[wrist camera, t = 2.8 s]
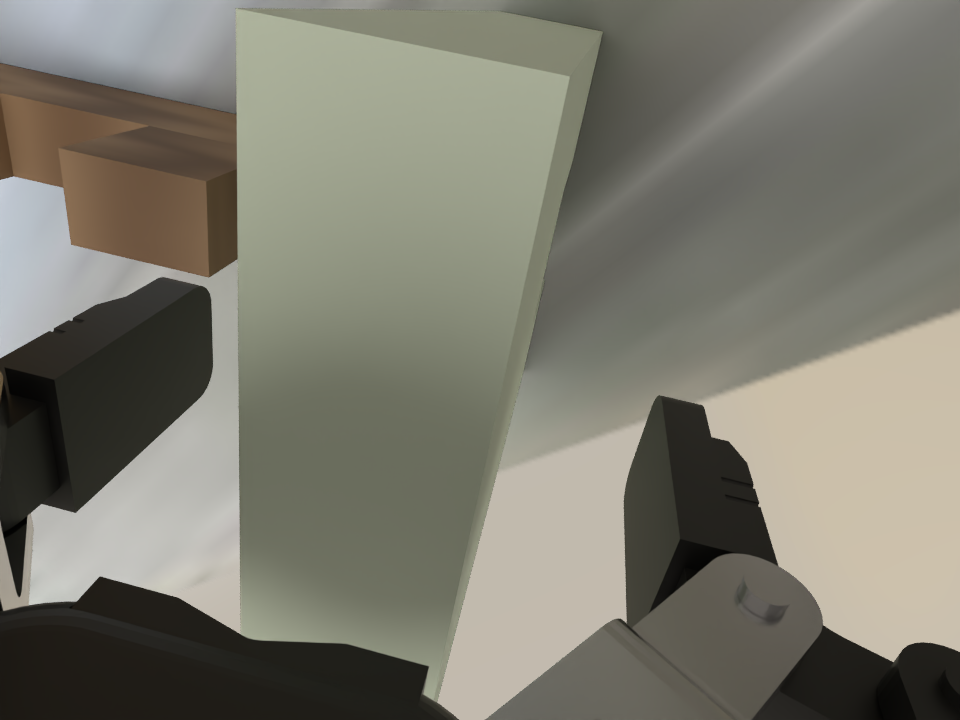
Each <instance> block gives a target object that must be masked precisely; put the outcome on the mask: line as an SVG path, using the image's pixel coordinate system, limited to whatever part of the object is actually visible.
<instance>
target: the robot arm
mask: <svg viewBox="0 0 960 720" xmlns="http://www.w3.org/2000/svg"><path fill="white" fill-rule="evenodd" d="M212 369H213V348H212V310H211V297H210V294H209V292H208V290H207V289H206V288H205V287H203V286H199V285H195V284H190V283H186V282H182V281H178V280H173V279H169V278H164V277H161V278H158V279H156V280H154V281H153V282H151V283H149V284H147V285H146V286H144V287H142V288H140V289H139V290H137V291H135V292H134V293H132V294H130V295H128V296H127V297H123V298H119V299H116V300H112V301H108V302H105V303H101V304H97V305H95V306H93V307H91V308H90V309H88V310H86V311H84V312H82V313H81V314H79V315H77V316H75V317H74V318H73V320H72V321H69V320H68V321H66V322H65V323H63V324H61V325H59V326H57V327H56V328H54V331H53V332H50V331H49V332H47V333H45V334H43V335H41V336H40V337H38V338H36V339H34V340H32V341H31V342H29V343H27V344H25V345H24V346H22V347H20V348H18V349H16V350H15V351H13V352H11V353H9V354H7V355H6V356H4V357H2V358H0V720H459V719H457V718H456V717H455V716H454V715H453V714H452V713H450V712H449V711H448V710H446V709H445V708H444V707H442V706H441V705H440V704H438V703H437V702H435V701H433V700H432V699H430V698H428V697H427V696H425V695H423V694H424V689H425V684H426V679H427V674H428V669H429V666H426V665H422V664H419V663H415V662H411V661H408V660H404V659H400V658H397V657H393V656H389V655H386V654H382V653H378V652H375V651H371V650H367V649H364V648H360V647H356V646H353V645H349V644H342V643H316V642H290V641H264V640H253V639H250V638H247V637H245V636H243V635H241V634H239V633H237V632H236V631H234V630H232V629H231V628H229V627H227V626H225V625H224V624H222V623H220V622H219V621H217V620H215V619H213V618H212V617H210V616H208V615H207V614H205V613H203V612H201V611H200V610H198V609H196V608H195V607H193V606H191V605H190V604H188V603H186V602H184V601H183V600H181V599H179V598H177V597H173V596H169V595H166V594H162V593H158V592H155V591H151V590H147V589H144V588H140V587H136V586H133V585H129V584H125V583H122V582H118V581H114V580H111V579H107V578H103V577H99V578H98V579H97V580H96V581H95V582H94V583H93V584H92V586H91V587H90V588H89V589H88V590H87V591H86V592H85V593H84V594H83V595H82V596H81V598H80V599H79V600H78V601H77V602H54V603H42V604H35V605H29V591H30V576H31V561H32V546H33V531H34V529H33V522H32V517H31V512H32V511H33V510H35V509H36V508H37V507H38V506H39V505H40V504H44V505H48V506H52V507H56V508H59V509H63V510H67V511H71V512H74V513H76V512H77V511H78V510H79V509H80V508H81V507H83V506H84V505H85V504H86V503H87V502H88V501H89V500H90V499H91V498H92V497H93V496H94V495H95V494H97V493H98V492H99V491H100V490H101V489H102V488H103V487H104V486H105V485H106V484H107V483H108V482H110V481H111V480H112V479H113V478H114V477H115V476H116V475H117V474H118V473H119V472H120V471H121V470H122V469H124V468H125V467H126V466H127V465H128V464H129V463H130V462H131V461H132V460H133V459H134V458H135V457H136V456H138V455H139V454H140V453H141V452H142V451H143V450H144V449H145V448H146V447H147V446H148V445H149V444H151V443H152V442H153V441H154V440H155V439H156V438H157V437H158V436H159V435H160V434H161V433H162V432H163V431H165V430H166V429H167V428H168V427H169V426H170V425H171V424H172V423H173V422H174V421H175V420H176V419H178V418H179V417H180V416H181V415H182V414H183V413H184V412H185V411H186V410H187V409H188V408H189V407H190V406H192V405H193V404H194V403H195V402H196V401H197V400H198V399H199V398H200V397H201V396H202V395H203V393H204V392H205V390H206V388H207V386H208V384H209V381H210V378H211V375H212ZM758 504H759V501H758V498H757V495H756V491H755V489H753V481H752V478H751V474H750V471H749V468H748V465H747V462H746V461H745V460H744V459H743V458H742V457H741V456H740V454H739V453H738V452H737V451H736V450H735V448H734V447H733V446H732V445H731V444H730V442H728V441H725V440H720V439H716V438H712V437H711V434H710V430H709V426H708V422H707V417H706V414H705V409H704V407H703V406H702V405H699V404H694V403H690V402H686V401H682V400H677V399H673V398H669V397H665V396H660V395H659V396H657V398H656V399H655V401H654V403H653V405H652V408H651V411H650V414H649V416H648V419H647V422H646V425H645V428H644V431H643V434H642V437H641V439H640V442H639V445H638V448H637V451H636V453H635V456H634V459H633V462H632V465H631V468H630V471H629V475H628V478H627V483H626V488H625V495H624V529H625V567H626V607H627V623H625V622H624V621H623V620H622V619H614V620H612V621H610V622H609V623H607V624H605V625H604V626H603V627H601V628H600V629H599V630H598V631H596V632H595V633H594V634H593V635H591V636H590V637H589V638H588V639H586V640H585V641H584V642H582V643H581V644H580V645H579V646H577V647H576V648H575V649H574V650H572V651H571V652H570V653H569V654H567V655H566V656H565V657H564V658H562V659H561V660H560V661H559V662H558V663H556V664H555V665H554V666H552V667H551V668H550V669H549V670H547V671H546V672H545V673H544V674H543V675H541V676H540V677H539V678H537V679H536V680H535V681H533V682H532V683H531V684H530V685H529V686H527V687H526V688H525V689H523V690H522V691H521V692H520V693H518V694H517V695H516V696H515V697H513V698H512V699H511V700H510V701H508V702H507V703H506V704H505V705H503V706H502V707H501V708H499V709H498V710H497V711H496V712H494V713H493V714H492V715H491V716H489V717H488V718H487V719H486V720H960V652H958V651H956V650H953V649H951V648H948V647H945V646H941V645H937V644H933V643H914V644H911V645H908V646H907V647H905V648H904V649H903V650H902V652H901V653H900V654H899V656H898V657H897V658H896V660H895V661H894V662H892V661H890V660H888V659H885V658H884V657H882V656H879V655H878V654H876V653H874V652H871V651H869V650H867V649H865V648H863V647H861V646H859V645H857V644H855V643H853V642H851V641H849V640H847V639H845V638H843V637H842V636H840V635H838V634H836V633H834V632H833V631H831V630H829V629H828V628H826V627H825V626H823V620H822V614H821V611H820V608H819V606H818V604H817V602H816V600H815V599H814V597H813V596H812V594H811V593H810V592H809V591H808V590H807V589H806V587H805V586H804V585H803V584H802V583H801V582H799V581H798V580H797V579H796V578H795V577H794V576H792V575H791V574H790V573H788V572H787V571H785V570H784V569H782V568H780V567H779V566H778V563H777V560H776V557H775V553H774V550H773V547H772V544H771V541H770V537H769V534H768V530H767V527H766V524H765V521H764V517H763V514H762V511H761V508H760V507H758Z"/></svg>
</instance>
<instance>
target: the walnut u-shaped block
mask: <svg viewBox="0 0 960 720" xmlns="http://www.w3.org/2000/svg"><path fill="white" fill-rule="evenodd" d="M12 176H15V177H20V178H24V179H28V180H33V181H37V182H41V183H46V184H50V185H54V186H59V187H63V188H64V195H65V202H66V209H67V217H68V224H69V232H70V239H71V245H75V246H79V247H83V248H88V249H92V250H96V251H100V252H104V253H109V254H113V255H117V256H121V257H125V258H130V259H134V260H138V261H142V262H146V263H151V264H155V265H159V266H163V267H167V268H172V269H176V270H180V271H184V272H188V273H193V274H197V275H201V276H205V277H211V276H212V275H214V274H215V273H217V272H218V271H220V270H221V269H223V268H224V267H226V266H227V265H229V264H231V263H232V262H234V261H235V260H237V259H238V233H237V115H236V114H232V113H227V112H223V111H218V110H213V109H209V108H204V107H200V106H195V105H190V104H186V103H181V102H176V101H172V100H167V99H163V98H158V97H153V96H149V95H144V94H140V93H135V92H130V91H126V90H121V89H117V88H112V87H107V86H103V85H98V84H94V83H89V82H84V81H80V80H75V79H71V78H66V77H61V76H57V75H52V74H48V73H43V72H38V71H34V70H29V69H25V68H20V67H15V66H11V65H6V64H1V63H0V180H1V179H5V178H9V177H12Z"/></svg>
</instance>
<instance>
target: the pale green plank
mask: <svg viewBox="0 0 960 720" xmlns="http://www.w3.org/2000/svg"><path fill="white" fill-rule="evenodd" d="M602 34H603V32H602V31H597V30H592V29H587V28H582V27H577V26H572V25H567V24H562V23H557V22H552V21H547V20H542V19H537V18H532V17H527V16H522V15H516V14H511V13H506V12H501V11H444V10H350V9H256V8H236V104H237V233H238V361H239V490H240V609H241V610H240V612H241V613H240V617H241V618H240V619H241V635H243V636H245V637H247V638H250V639H253V640H264V641H290V642H316V643H342V644H349V645H353V646H356V647H360V648H364V649H367V650H371V651H375V652H378V653H382V654H386V655H389V656H393V657H397V658H400V659H404V660H408V661H411V662H415V663H419V664H422V665H426V666H429V669H428V674H427V679H426V684H425V689H424V694H423V695H425V696H427V697H428V698H430V699H432V700H433V701H435V702H437V701H438V697H439V693H440V689H441V686H442V682H443V678H444V674H445V670H446V667H447V663H448V659H449V655H450V651H451V647H452V644H453V640H454V636H455V632H456V628H457V624H458V620H459V617H460V613H461V609H462V605H463V601H464V598H465V593H466V590H467V586H468V582H469V578H470V575H471V571H472V567H473V563H474V559H475V556H476V552H477V548H478V544H479V540H480V536H481V533H482V529H483V525H484V521H485V517H486V513H487V509H488V506H489V502H490V498H491V494H492V490H493V486H494V483H495V479H496V475H497V471H498V467H499V464H500V460H501V456H502V452H503V448H504V444H505V441H506V437H507V433H508V429H509V425H510V421H511V418H512V414H513V410H514V406H515V402H516V398H517V395H518V391H519V387H520V383H521V379H522V375H523V372H524V367H525V363H526V359H527V355H528V350H529V346H530V342H531V337H532V333H533V329H534V325H535V320H536V316H537V312H538V308H539V303H540V299H541V295H542V291H543V286H544V282H545V280H543V278H544V274H545V270H546V265H547V261H548V257H549V252H550V248H551V244H552V240H553V235H554V231H555V227H556V222H557V218H558V214H559V209H560V205H561V201H562V197H563V192H564V189H565V185H566V182H567V179H568V175H569V172H570V169H571V165H572V162H573V158H574V154H575V150H576V145H577V141H578V137H579V132H580V128H581V124H582V120H583V115H584V111H585V107H586V103H587V98H588V94H589V90H590V85H591V81H592V77H593V73H594V68H595V64H596V60H597V56H598V51H599V47H600V43H601V38H602Z"/></svg>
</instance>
